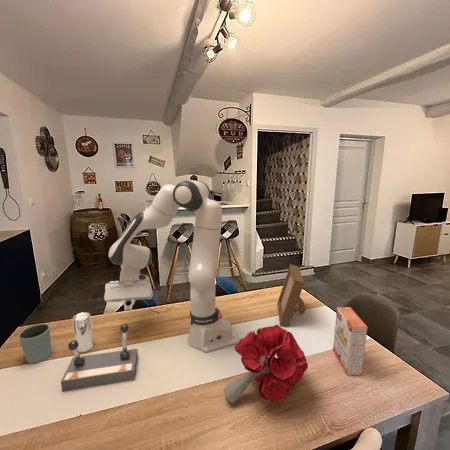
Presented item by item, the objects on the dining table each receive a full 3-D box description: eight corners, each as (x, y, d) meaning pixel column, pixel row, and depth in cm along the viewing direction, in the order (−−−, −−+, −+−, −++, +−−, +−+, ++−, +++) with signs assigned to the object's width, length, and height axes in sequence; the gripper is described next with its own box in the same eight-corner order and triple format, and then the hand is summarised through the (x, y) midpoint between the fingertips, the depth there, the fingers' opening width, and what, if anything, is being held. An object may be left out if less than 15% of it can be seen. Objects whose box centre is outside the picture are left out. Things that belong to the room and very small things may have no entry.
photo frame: (279, 326, 127) (283, 279, 122) (277, 304, 148) (279, 263, 143) (310, 329, 125) (315, 281, 120) (303, 306, 146) (307, 265, 141)
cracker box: (331, 350, 111) (336, 306, 106) (345, 350, 110) (351, 306, 106) (345, 375, 97) (351, 326, 93) (362, 376, 97) (368, 326, 92)
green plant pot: (58, 352, 108) (55, 327, 106) (32, 368, 99) (28, 341, 97) (43, 345, 113) (39, 321, 110) (17, 360, 104) (12, 334, 101)
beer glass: (86, 354, 108) (82, 321, 104) (72, 351, 109) (67, 319, 106) (97, 343, 114) (94, 312, 111) (84, 341, 116) (80, 311, 113)
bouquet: (258, 447, 78) (329, 381, 84) (219, 397, 71) (300, 329, 78) (232, 394, 98) (292, 344, 104) (201, 351, 92) (266, 300, 98)
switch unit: (138, 357, 106) (137, 347, 105) (134, 379, 95) (133, 369, 94) (73, 366, 101) (72, 356, 100) (62, 391, 89) (60, 380, 88)
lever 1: (85, 358, 98) (78, 337, 91) (83, 366, 95) (76, 346, 89) (76, 359, 97) (68, 339, 91) (74, 368, 95) (65, 347, 88)
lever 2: (130, 356, 101) (129, 322, 103) (128, 359, 98) (128, 324, 100) (121, 357, 100) (120, 323, 102) (119, 360, 97) (119, 325, 99)
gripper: (104, 279, 114) (100, 310, 106) (152, 275, 118) (151, 305, 111) (107, 284, 119) (104, 314, 112) (153, 280, 123) (152, 310, 116)
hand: (128, 310), depth 111 cm, fingers closed
